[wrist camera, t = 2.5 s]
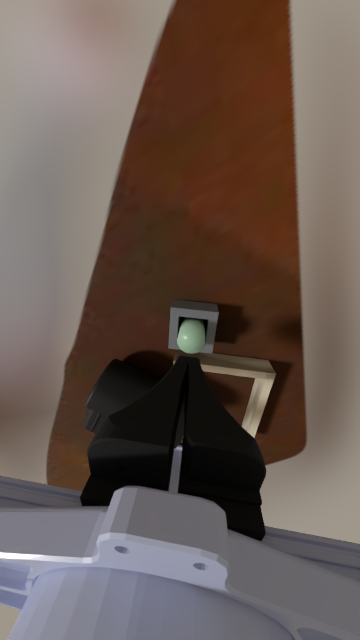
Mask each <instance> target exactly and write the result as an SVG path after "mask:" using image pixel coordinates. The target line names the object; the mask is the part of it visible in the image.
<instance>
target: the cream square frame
mask: <svg viewBox="0 0 360 640" xmlns="http://www.w3.org/2000/svg"><path fill="white" fill-rule="evenodd" d="M178 356H188V357H196V358H199V360H200V364H201V367H202V370H203V371H207V372H214V373H222V374H230V375H237V376H245V377H252V378H256V379H255V382H254V385H253V389H252V392H251V396H250V399H249V403H248V406H247V410H246V413H245V417H244V420H243V424H242V426H241V427H243V428H244V429H245V430H246V431H247V432H248V433H249V434H250V435H251V436H253V437H255V434H256V431H257V429H258V426H259V423H260V420H261V417H262V414H263V411H264V408H265V405H266V402H267V399H268V396H269V393H270V390H271V387H272V384H273V381H274V378H275V375H276V373H275V371H274V369H273V368H272V366H271V364H270V362H269V360H263V359H255V358H247V357H239V356H231V355H223V354H215V353H212V354H210V353H202V352H197V353H193V354H190V353H186V352H184V351H182V350H178V349H176V353H175V357H174V361H173V365H174V363H175V362H176V360H177V358H178Z"/></svg>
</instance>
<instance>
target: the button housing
mask: <svg viewBox="0 0 360 640" xmlns="http://www.w3.org/2000/svg"><path fill="white" fill-rule="evenodd" d="M218 314H219V311H218V306H217V304H212V303H203V302H193V301H183V300H174V302H173V304H172V306H171V311H170V329H169V347H168V348H170V349H178V350H181V349H180V348H179V346H178V344H177V338H178V334H179V330H180V321H181V317H190V318H199V319H207V322H206V329H205V345H204V347H203V349H202V350H201V351H199V352H202V353H210V354H212V351H213V345H214V339H215V333H216V327H217V321H218Z"/></svg>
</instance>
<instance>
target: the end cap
mask: <svg viewBox="0 0 360 640" xmlns="http://www.w3.org/2000/svg"><path fill="white" fill-rule="evenodd" d="M159 381H160V380H158V379H156V378H154V377H152V376H150V375H148V374H146V373H144V372H142V371H140V370H138V369H136V368H134V367H132V366H130V365H128V364H126V363H124V362H122V361H120V360H118V359H114V360H112V361H111V362H110V363H109V365H108V366H107V367H106V369H105V370H104V372H103V373H102V375H101V376H100V378H99V379H98V381H97V382H96V384H95V386H94V387H93V389H92V391H91V393H90V394H89V396H88V398H87V400H86V402H85V407H87V408H89V409H88V411H87V413H86V416H87V417H86V419H85V421H84V424H83V425H84V427H85V428H86V429H87V430H90V432H94V433H97V431H98V429H99V428H100V427H101V425H102V424H103V422H104V421H105V420H106V418H107V417H108V416H109V415H112V414H114V413H116V412H118V411H119V410H121V409H123V408H125V407H127V406H129V405H130V404H132V403H133V402H135V401H136V400H138V399H139V398H141V397H142V396H143V395H145V394H146V393H147V392H148V391H150V390H151V389H152V388H153V387H154V386H155V385H156V384H157V383H158V382H159ZM184 404H185V395H184V400H183V404H182V409H181V413H180V418H179V422H178V427H177V432H176V439H175V447H174V449H175V448H177V446H178V445H179V444H180V442H181V440H182V439H183V436H184Z"/></svg>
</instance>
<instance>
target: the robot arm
mask: <svg viewBox="0 0 360 640" xmlns="http://www.w3.org/2000/svg"><path fill="white" fill-rule="evenodd" d="M184 395H185V404H184V436H183V445H178V446H177V448H175V449H174V447H175V439H176V432H177V427H178V422H179V418H180V413H181V409H182V404H183V400H184ZM87 456H88V461H89V467H90V472H91V475H90V477H89V479H88V481H87V483H86V485H85V487H84V490H83V491H78V490H73V489H67V488H62V487H57V486H51V485H46V484H41V483H35V482H30V481H25V480H20V479H15V478H9V477H4V476H0V604H3V605H5V606H8V607H12V608H14V609H18V610H20V611H21V612H20V614H19V616H18V619H17V620H16V622H15V624H14V626H13V628H12V630H11V633H10V634H9V637H8V639H7V640H360V544H357V543H352V542H346V541H341V540H335V539H330V538H325V537H320V536H315V535H309V534H303V533H299V532H294V531H288V530H283V529H277V528H273V527H267V526H264V522H263V517H262V513H261V508H260V506H261V504H262V500H261V496H260V491H259V490H260V488H261V485H262V483H263V481H264V478H265V476H266V468H265V463H264V460H263V457H262V454H261V452H260V449H259V447H258V444H257V442H256V440H255V438H254V437H253V436H251V435H250V434H249V433H248V432H247V431H246V430H245V429H244V428H243V427H241V426H240V425H239V424H238V423H237V422H236V420H235V419H234V418H233V417H232V416H231V415H230V414H229V413H228V411H227V410H226V409H225V408H224V407H223V405H222V404H221V402H220V401H219V400H218V398H217V397H216V395H215V394H214V392H213V390H212V389H211V387H210V385H209V383H208V381H207V379H206V377H205V375H204V372H203V370H202V367H201V364H200V360H199V358H196V357H188V356H178V358H177V360H176V362H175V363H174V365H173V366H172V367H171V369H170V370H169V371H168V373H167V374H166V375H165V376H164V377H163V378H162V379H161V380H160V381H159V382H158V383H157V384H156V385H155V386H154V387H153V388H152V389H151V390H150V391H148V392H147V393H146V394H145V395H143V396H142V397H141V398H139V399H138V400H136V401H135V402H133V403H132V404H130V405H129V406H127V407H125V408H123V409H121V410H119V411H118V412H116V413H114V414H112V415H109V416H108V417H107V418H106V420H105V421H104V422H103V424H102V425H101V427H100V428H99V429H98V431H97V433H96V434H95V436H94V438H93V440H92V442H91V444H90V445H89V448H88V450H87Z"/></svg>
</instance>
